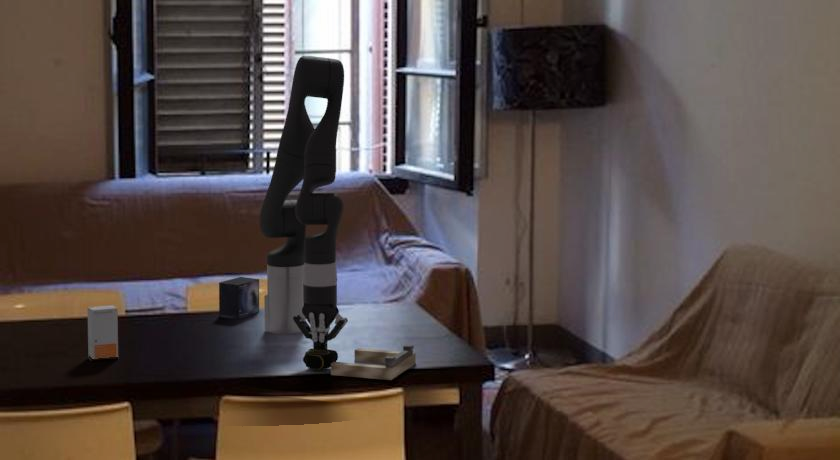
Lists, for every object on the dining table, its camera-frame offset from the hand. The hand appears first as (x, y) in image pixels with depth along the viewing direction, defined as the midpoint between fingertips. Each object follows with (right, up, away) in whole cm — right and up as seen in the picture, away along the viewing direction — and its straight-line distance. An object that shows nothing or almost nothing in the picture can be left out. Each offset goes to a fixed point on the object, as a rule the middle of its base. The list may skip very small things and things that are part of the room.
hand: (320, 357), depth 292 cm
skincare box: (-50, -1, +5) cm, 50 cm away
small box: (-25, +5, +50) cm, 56 cm away
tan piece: (+11, -2, -4) cm, 12 cm away
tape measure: (+2, -2, -2) cm, 3 cm away
